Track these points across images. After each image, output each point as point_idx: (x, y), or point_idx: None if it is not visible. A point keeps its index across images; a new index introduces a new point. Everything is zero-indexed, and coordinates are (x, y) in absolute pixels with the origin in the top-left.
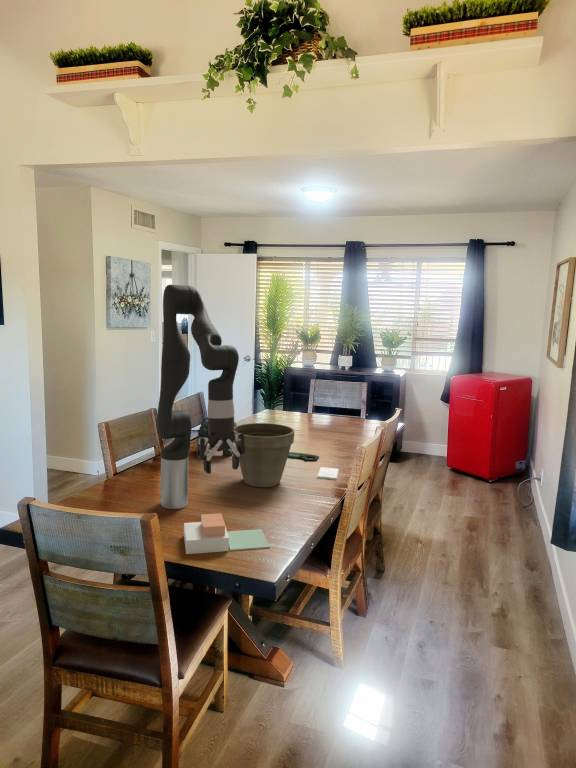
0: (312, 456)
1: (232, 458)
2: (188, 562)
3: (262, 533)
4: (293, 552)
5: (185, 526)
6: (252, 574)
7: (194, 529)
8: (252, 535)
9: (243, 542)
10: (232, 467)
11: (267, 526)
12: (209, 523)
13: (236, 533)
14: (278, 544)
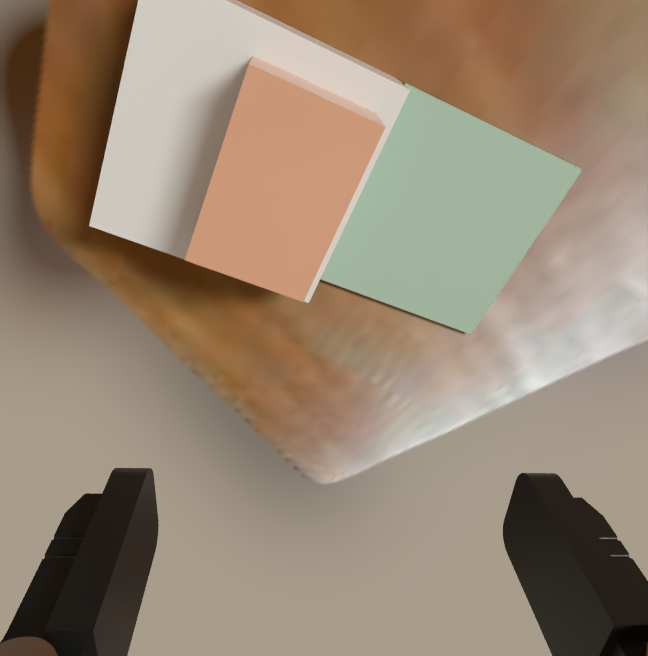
0: None
1: (587, 599)
2: (102, 271)
3: (544, 216)
4: (512, 396)
5: (138, 34)
6: (290, 441)
7: (180, 114)
8: (490, 209)
9: (404, 250)
10: (526, 480)
11: (642, 141)
12: (236, 231)
13: (441, 143)
14: (521, 324)
